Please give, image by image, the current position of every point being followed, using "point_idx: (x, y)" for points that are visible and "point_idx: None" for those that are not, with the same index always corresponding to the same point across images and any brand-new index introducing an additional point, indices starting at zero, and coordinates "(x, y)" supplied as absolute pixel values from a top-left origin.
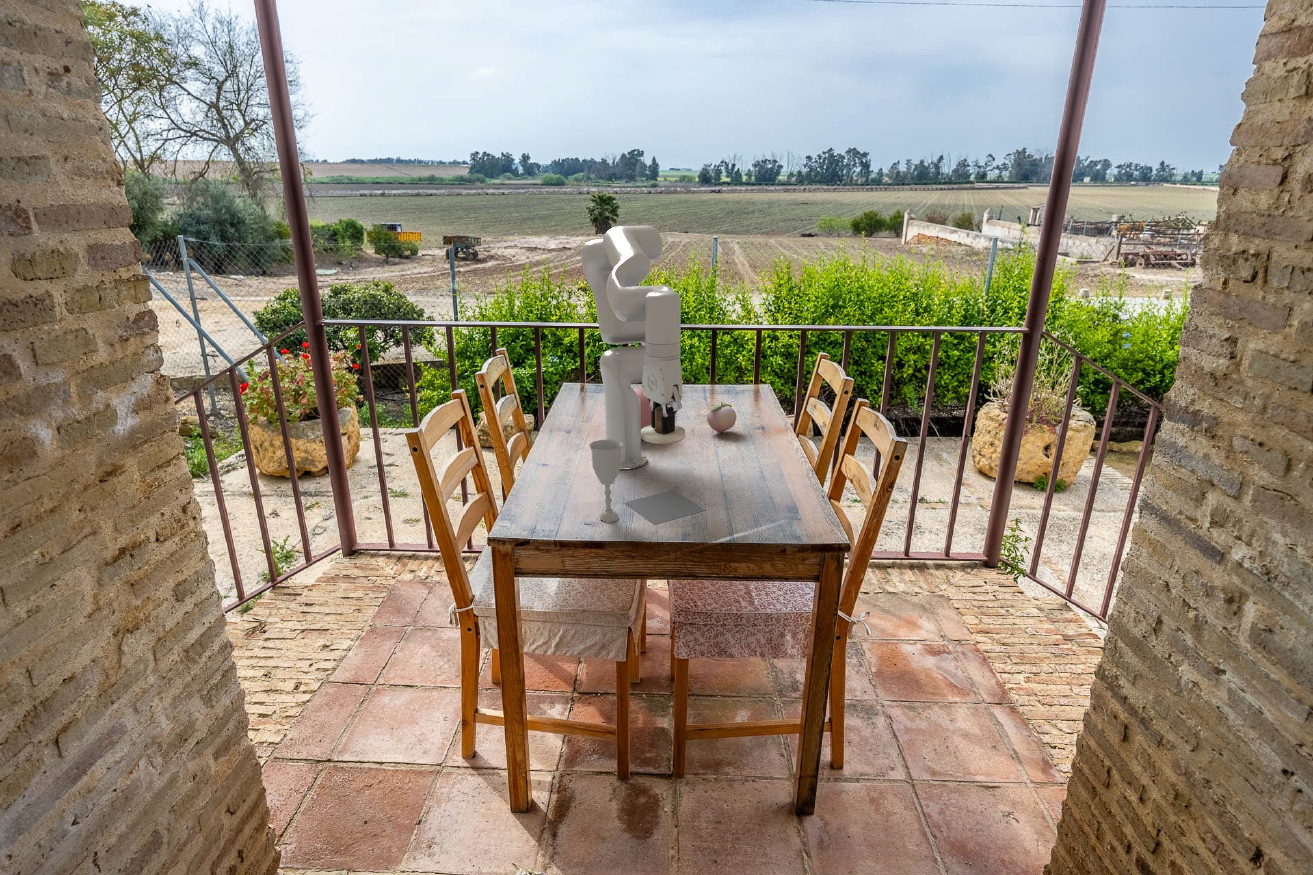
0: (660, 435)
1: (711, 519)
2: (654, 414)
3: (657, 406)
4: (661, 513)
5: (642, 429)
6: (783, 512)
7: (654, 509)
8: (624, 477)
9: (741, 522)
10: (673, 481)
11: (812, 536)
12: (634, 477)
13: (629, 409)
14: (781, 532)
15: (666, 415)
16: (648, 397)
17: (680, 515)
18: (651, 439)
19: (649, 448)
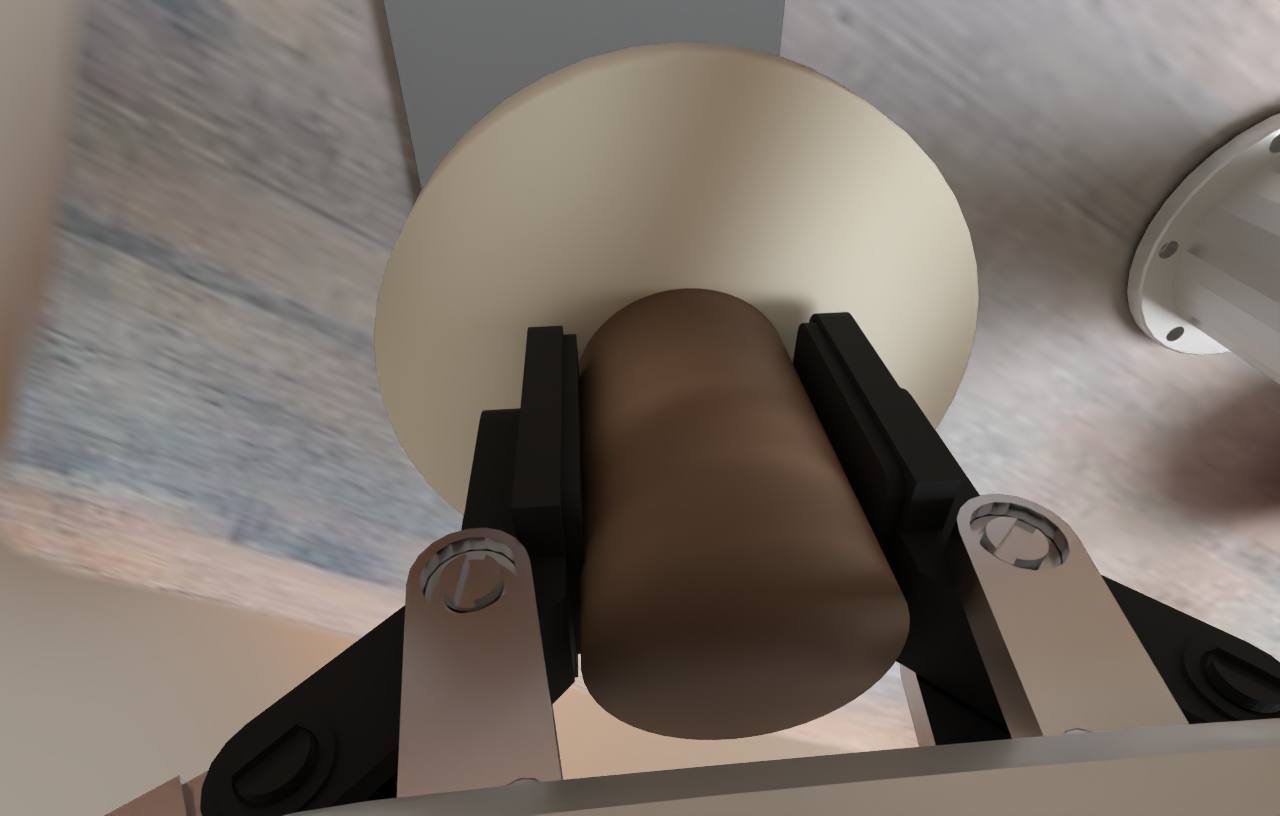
0: (545, 281)
1: (352, 255)
2: (868, 470)
3: (947, 636)
4: (506, 27)
5: (925, 179)
6: (318, 524)
7: (583, 19)
8: (1110, 123)
9: (271, 354)
10: None
11: (56, 507)
12: (1060, 176)
13: None
14: (118, 437)
15: (412, 580)
16: (1181, 780)
17: (430, 121)
18: (515, 102)
19: (1238, 410)
